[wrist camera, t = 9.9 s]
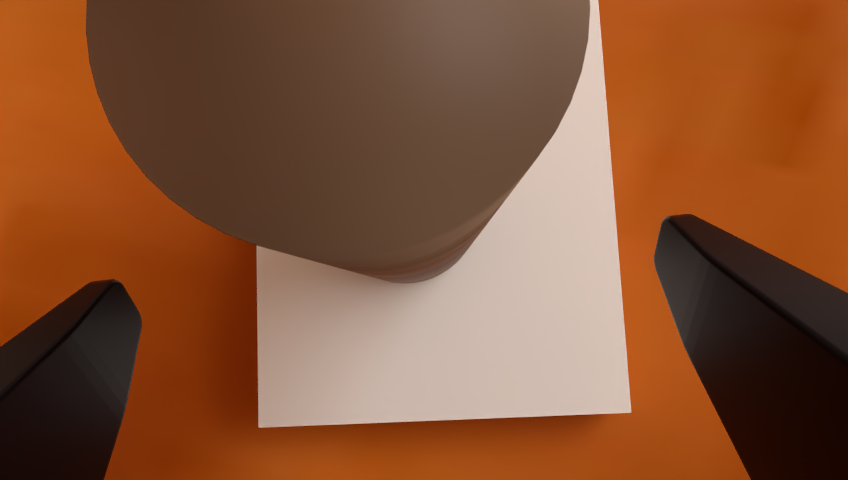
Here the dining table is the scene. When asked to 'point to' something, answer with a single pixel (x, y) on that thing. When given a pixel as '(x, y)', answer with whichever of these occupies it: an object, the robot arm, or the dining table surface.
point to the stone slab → (467, 306)
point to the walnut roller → (339, 116)
